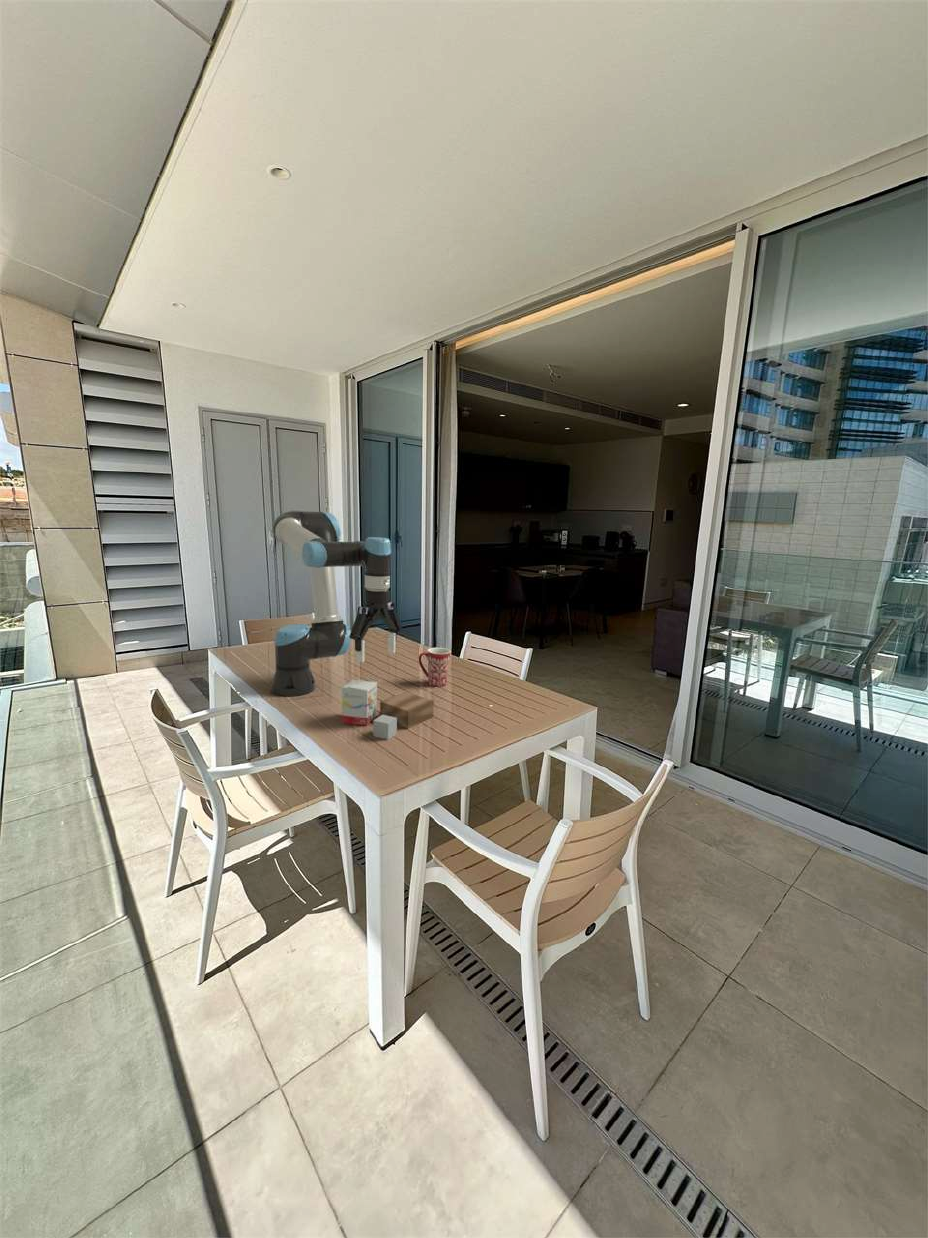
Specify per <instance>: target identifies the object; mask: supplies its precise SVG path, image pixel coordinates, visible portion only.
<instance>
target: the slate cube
mask: <svg viewBox="0 0 928 1238" xmlns="http://www.w3.org/2000/svg"><path fill="white" fill-rule="evenodd" d="M372 723H373V728H372V730H373V731H372V736H373V737H376V738H379V739H383V740H387V741H389V740H390V739H391V738H392V737H394V736H395V735H396V734H397V733H398V730H397V729H398V725H397V718H396V717H391V716H386V715H381V716H380V715H379V716H377V718H374V719H373V720H372Z"/></svg>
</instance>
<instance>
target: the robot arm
mask: <svg viewBox="0 0 928 1238" xmlns="http://www.w3.org/2000/svg"><path fill="white" fill-rule="evenodd" d="M272 523H273V524H272V533H273V536H274V538H275V539H276V540H277V541H279V543H280V544H283V545H285V546H290V547H292V548H293V549H294V550H296V552H299V553H300V554H301V557H302V561H303V563H304V565H305V566H307V567H309V572H310V578H311V579H310V581H311V582H310V583H311V590H312V601H313V611H314V618H313V620H312V621H311V622H310V624H311V627H310V626H309V625H308V624H306V623H293V624H287V625H285V626H282V627H280V628H278V629H277V630H276V631H275V633H274V642H273V643H274V648H275V649H274V651H275V652H274V653H275V655H274V656H275V657H274V659H275V670H274V671H275V672H274V674H273V678H272V681H271V683H270V689H271V690H270V691H271V693H273V694H275V695H276V696H277V695H278V696H282V697H297V696H303V695H306V694H310V693H312V692H313V691H314V690H315V689H316V681H315V678H314V675H313V673H312V670H311V665H310V662H311V660H317V659H318V660H319V659H323V658H333V657H334V658H335V657H338V656H342V655H345V654H347V653H348V651H349V649H350V647H351V642H352V641H351V640H354V650H355V651H356V652H355V655H356V657H355V660H356V661H357V662H361V663H364V662H365V643H366V642H365V641H366V640H363V639H364V638H365V636H366V634H367V633H368V630H369V628H370V627H371V625H372V623H374V622H375V621H379V620H382V621H383V622H384V625H386V627H387V628H388V630H389V631H387V653H392V654H395V653H396V642H397V634H399V633H400V631H401V630H402V628H403V627H402V624H401V621H400V619H399V616H398V613H397V609H396V603H395V602H391V599H390V596H391V591H390V590H389V589H390V587H391V584H390V583H391V560H392V559H391V557H392V555H391V553H392V550H391V540H390V539H389V538H388V537H375V536H369V537H366V538H365V541H362V540H355V541H340V540H341V533H342V532H341V526H340V522H339V520H338V519H337V517H336V516H335V515H334V514H333V513H331V512H324V511H298V510H289V511H285V512H283V513H281V514H280V515H278V516H277V517H276V518H275V519H274V521H273V522H272ZM336 567H364V588H365V590H364V601H365V603H366V606H365V607H363V606H358V607H357V612H356V613H357V614H356V616H355V619H354V622H353V624H352V628H351V630H350V626H349V625H348V624H345V623H344V619H343V618H342V617H341V616H340V615H339V605H338V596H337V595H338V594H337V584H336V578H335V575H336V574H335V568H336Z"/></svg>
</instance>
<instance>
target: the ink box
mask: <svg viewBox="0 0 928 1238" xmlns="http://www.w3.org/2000/svg"><path fill="white" fill-rule="evenodd" d="M377 693H378V682H376V681H369V680H361V679H352V680H350V681H349V682H347V683H346V684H344V686H342V687H341V699H342V700H341V723H342V724H348V725H355V726H356V725H357V726H363V727H364V726H366V727H367V726H368V725H369V724H370V723H371V722H373V720H375V719H376V717H377V701H378V699H377V698H378V697H377V696H378V695H377Z"/></svg>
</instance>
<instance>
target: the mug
mask: <svg viewBox="0 0 928 1238" xmlns="http://www.w3.org/2000/svg"><path fill="white" fill-rule="evenodd" d="M423 656H426V659H427V670H426V667H425V666H424V664H423V663H422V662H423V661H422V657H423ZM450 657H451V650H450V649H448V648H444V647H431V648H428V649H427V651H426V652H421V653H420V654H419V655H418V663H419V666H420V669H421V670H422V671H423V673H424V675H425V677H426V678H427V684H428V685H429V686H432V687H437V688H441V687H445V686H447V684H448V676H449V668H450V667H449V666H450Z"/></svg>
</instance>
